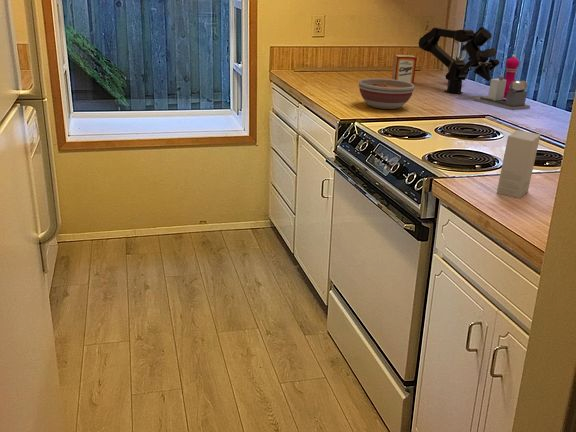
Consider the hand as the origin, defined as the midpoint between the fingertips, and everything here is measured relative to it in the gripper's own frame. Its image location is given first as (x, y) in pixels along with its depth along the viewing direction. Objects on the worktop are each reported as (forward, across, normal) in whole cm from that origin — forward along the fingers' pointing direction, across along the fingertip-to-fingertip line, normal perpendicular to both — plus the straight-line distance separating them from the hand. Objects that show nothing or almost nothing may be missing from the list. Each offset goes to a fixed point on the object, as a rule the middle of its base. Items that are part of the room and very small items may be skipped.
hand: (489, 80), depth 283 cm
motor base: (+13, 0, 0) cm, 13 cm away
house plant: (-19, +18, +32) cm, 42 cm away
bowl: (+4, -58, +10) cm, 59 cm away
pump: (+9, 0, +2) cm, 9 cm away
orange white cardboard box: (-20, -18, +33) cm, 43 cm away
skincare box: (+74, -99, -60) cm, 137 cm away
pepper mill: (+4, +18, +9) cm, 21 cm away
